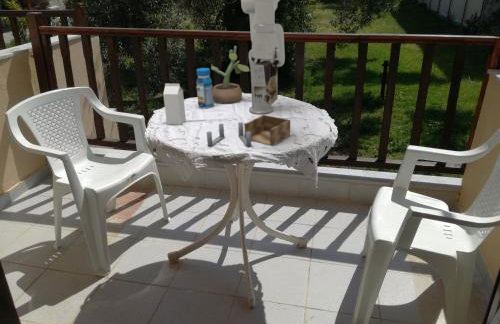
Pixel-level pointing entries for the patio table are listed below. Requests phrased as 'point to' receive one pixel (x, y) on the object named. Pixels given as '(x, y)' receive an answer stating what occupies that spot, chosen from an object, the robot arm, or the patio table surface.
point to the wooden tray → (268, 129)
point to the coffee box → (264, 84)
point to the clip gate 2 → (248, 136)
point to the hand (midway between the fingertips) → (265, 74)
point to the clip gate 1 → (221, 133)
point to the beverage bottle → (204, 88)
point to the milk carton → (174, 104)
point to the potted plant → (228, 90)
